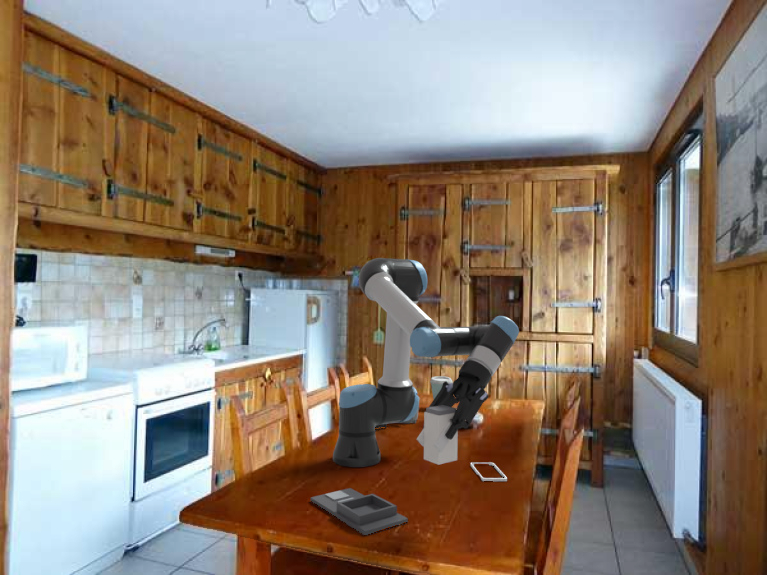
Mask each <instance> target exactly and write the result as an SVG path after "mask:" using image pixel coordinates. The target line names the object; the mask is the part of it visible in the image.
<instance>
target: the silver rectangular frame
mask: <svg viewBox="0 0 767 575" xmlns="http://www.w3.org/2000/svg"><path fill="white" fill-rule="evenodd" d="M475 464H477V465H479V464H482V465H484V464H487V465H488V466H491V467H493V466H494V467H493V468H494V469H495V470H496V471H497V472H498V473H499V475H500V476H502V477H483V476H482V474H481V473H480V472H479V470H477V468H476V467H475ZM470 467H471V468H472V470H473V471H474V473H475V474H476V475H478V476H479V478H480V480H481V482H484V481H493V482H507V481H508V477H507V476H506V475H505V474H504V472H503V471H502V470H501V469H500V468H499V467H498V466H497V465H496V463H494V462H491V461H489V462H470ZM503 477H504V478H503Z"/></svg>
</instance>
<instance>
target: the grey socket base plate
mask: <svg viewBox="0 0 767 575" xmlns="http://www.w3.org/2000/svg"><path fill="white" fill-rule="evenodd" d="M311 501H312V502H313V503H312V502H311ZM310 502H311V503H312V504H314V503H315V504H317V505H318V506H317V505H316V506H317V507H319V506H320V507H321V508H320V507H319V508H320V509H322V508H323V509H325V510H326V511H328V512H329V513H328V512H327V513H328V514H330V513H331V514H332V515H331V514H330V515H331V516H333V515H334V516H336V517H337V518H336V517H335V518H336V519H337V520H339V519H340V522H342V521H343V522H342V523H344V522H345V523H346V525H347V526H348V527H349V528H352V529H353V528H354V529H353V530H355V529H356V530H355V531H357V532H358V531H359V532H358V533H359V534H361V533H362V534H361V535H363V536H364V535H367V536H369V535H368V534H370V535H372V534H371V533H373V534H375V533H374V532H376V531H379V530H382V529H385V528H388V527H392V526H395V525H399V524H402V523H404V522H409V521H408V520H409V519H408V517H406V516H405V515H402V514H400V513H398V506H397V505H396V504H394V503H392V502H390V501H388V500H387V499H384V498H382V497H380V496H378V495H377V494H375V493H371V494H367V495H364V494H363V493H360V492H359V491H357V490H356V489H355V490H354V489H353V488H351V487H349V488H344V489H340V490H336V491H332V492H328V493H323V494H320V495H315V496H312V497H310ZM315 504H314V505H315ZM323 509H322V510H323ZM325 510H324V511H325ZM326 511H325V512H326ZM334 516H333V517H334ZM345 523H344V524H345ZM402 525H403V524H402ZM399 526H400V525H399ZM376 533H377V532H376Z"/></svg>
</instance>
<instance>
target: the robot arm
mask: <svg viewBox="0 0 767 575" xmlns="http://www.w3.org/2000/svg"><path fill="white" fill-rule="evenodd" d="M358 285H359V287H360V290H361V292H362V293H363V294H364V295H365V296H366V297H367V299H369V300H370V301H373V302H376V303H377V304H378V305H379V306H380V307H381V309H383V310H384V311H385V312H386V322H385V323H386V324H385V336H384V338H385V339H384V353H383V354H384V355H383V369H382V376H381V377H380V378H379V379H378V380H377V387H376V385H374V384H371V383H364V384H360V383H359V384H354V385H349V386H347V387H344V388H343V389H342V390H341V391H340V393H339V401H338V410H339V412H338V419H339V420H338V436H337V437H338V438H337V439H336V440H337V441H336V443H335V446H334V449H333V451H332V462H335V465H336V464H337V465H338V466H341V467H347V468H348V467H349V468H366V467H371V466H375V465H378V464H379V463H380V462H381V450H380V448H379V444H378V439H377V437H376V430H375V426H376V425H381V424H402V423H401V422H403V421H408V420H410V419H411V418H413V417H414V416H415V414H416V412H417V410H418V406H419V407H420V401H419V398H420V396H419V395H418V394H419V393H418V391H417V389H416V388H415V386H414V384H413V381H412V380H411V379H410V363H411V362H410V361H411V351H412V353H413V354H414V355H415V356H417V357H421V358H425V357H426V358H434V357H435V358H436V357H446V356H447V357H449V356H468V357H467V358H466V360H465V361H464V362H463V363H462V365H461V367H460V369H459V371H458V377H457V378H456V379H455V380H454V381H453V383H449V384H448V382H447V381H446V382H444V383H443V385H442V388H441V390H440V391H439V393H438V394H437V396H436V397H435V399H434V400H433V399H432V402H431V403H430V404H429V405H428V407H434V406H440V405H445V406H449V407H454V405H455V404H458V405H457V407H456V412H455V414H454V417H453V419H450V420H451V422H452V423H451V422H448V423H447V424H446V426H445V427H444V429H443V430H442V432H441V434H440V435H439V436H438V438H437V440H436V441H435V443H434V444H433V445H434V446H435V448H436V449H437V450H438V451H439V452H441V453H442V451H443V450H444V448H445V446H446V445H447V443H448V442H449V440H451V439H452V438H453V437H454V435H455V434H456V432H457V430H461V429H462V428H463V429H465V430H466V429H468V428H469V426H470V425H471V423H472V422H473V420H474V419H475V417H476V415H477V414H478V412H479V410H480V408H481V407H482V405H483V404H484V402H486V401H487V400H488V399H489V396H490V395H489V394H488V393H487V392H486V390H485V389H486V388H487V386H488V384H489V383H490V381H491V380H492V377H493V376H494V374H495V373H496V371H497V370H498V369H499V367H500V365H501V363H502V362H503V360H504V359H505V358H506V356H507V354H508V353H509V352H510V350H511V349H512V347H513V345H514V344H515V341H516V340H517V339H518V336H519V333H520V330H519V327H518V325H517V324H516V323H515V322H514V321H513V320H512V319H510V318H509V317H507V316H504V315H498V316H495V317H494V318H493V319H492V320H491V321H490V324H489V325H482V326H447V327H446V326H440V325H439V324H437V322H435V321H434V320H433V319H432V318H430V317H429V315H428V314H426V313H425V311H423V310H422V309H421V308H420V307H419V306H418V305H417V304H418V303H419V301H420V300H419V299H420V296H421V295H423V294H425V292H426V290H427V289H428V288H427V287H428V275H427V272H426V269H425V268H424V266H423V264H422V263H421V262H419V261H417V260H413V259H408V258H405V259H404V258H403V259H402V258H385V257H377V258H373V259H370V260H368V261H367V262H366V263H365V264H364V265H363V266H362V268H361V269H360V271H359V275H358ZM418 411H419V410H418ZM416 441H417V442H418V443H419V444H420V445H421V446H422V447H424V425H423V427H422V430H421V432H420V433H419V435H418V436H417V438H416Z"/></svg>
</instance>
